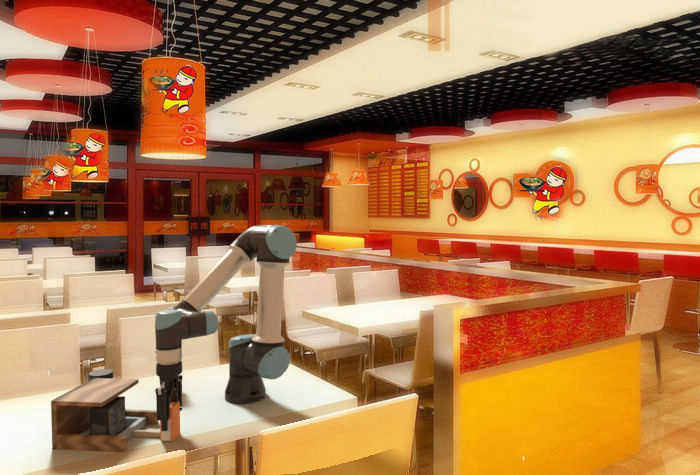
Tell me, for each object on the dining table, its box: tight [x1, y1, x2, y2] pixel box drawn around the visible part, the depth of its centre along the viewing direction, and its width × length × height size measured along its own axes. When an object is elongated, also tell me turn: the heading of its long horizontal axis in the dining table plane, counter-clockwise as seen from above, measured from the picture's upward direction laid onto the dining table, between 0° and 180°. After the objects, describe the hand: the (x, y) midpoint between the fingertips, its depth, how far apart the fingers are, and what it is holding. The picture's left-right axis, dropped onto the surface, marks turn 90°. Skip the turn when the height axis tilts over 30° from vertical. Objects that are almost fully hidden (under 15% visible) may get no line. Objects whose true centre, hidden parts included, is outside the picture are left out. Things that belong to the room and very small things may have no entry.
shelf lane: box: [50, 378, 159, 453], centre depth 157 cm, size 22×21×14 cm
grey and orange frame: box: [82, 402, 181, 442], centre depth 157 cm, size 27×16×10 cm, turn 84°
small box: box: [89, 395, 127, 436], centre depth 157 cm, size 11×6×10 cm, turn 177°
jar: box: [87, 368, 116, 381], centre depth 182 cm, size 9×8×12 cm
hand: (170, 436), depth 156 cm, fingers closed on grey and orange frame, 5 cm apart
